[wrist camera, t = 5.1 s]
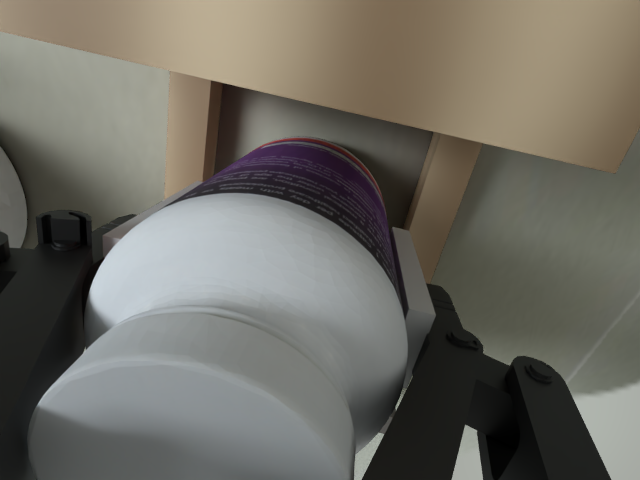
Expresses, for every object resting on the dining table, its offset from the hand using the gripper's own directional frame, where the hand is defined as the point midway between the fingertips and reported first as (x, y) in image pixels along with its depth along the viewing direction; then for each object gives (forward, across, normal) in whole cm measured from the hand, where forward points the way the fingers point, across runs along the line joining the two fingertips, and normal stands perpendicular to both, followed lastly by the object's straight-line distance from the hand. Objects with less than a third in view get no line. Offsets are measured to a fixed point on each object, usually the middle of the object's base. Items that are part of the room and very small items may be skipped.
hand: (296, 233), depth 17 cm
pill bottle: (+3, 0, 0) cm, 3 cm away
